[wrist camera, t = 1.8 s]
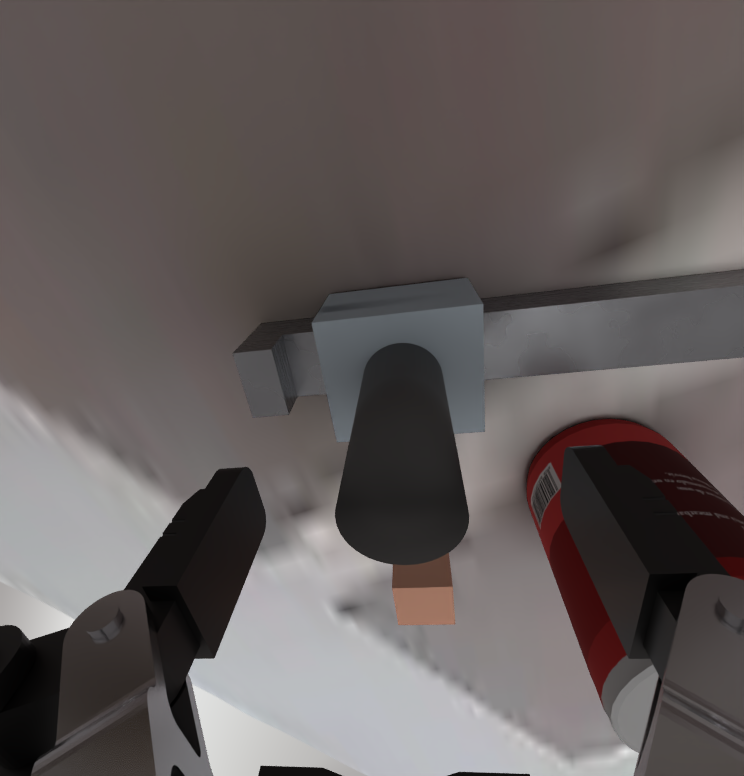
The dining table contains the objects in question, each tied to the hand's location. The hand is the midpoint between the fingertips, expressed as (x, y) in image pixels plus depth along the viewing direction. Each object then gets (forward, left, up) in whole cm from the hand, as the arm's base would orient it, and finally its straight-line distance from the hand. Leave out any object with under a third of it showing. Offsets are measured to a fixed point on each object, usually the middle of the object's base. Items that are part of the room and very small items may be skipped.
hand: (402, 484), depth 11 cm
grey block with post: (+4, 0, -10) cm, 10 cm away
